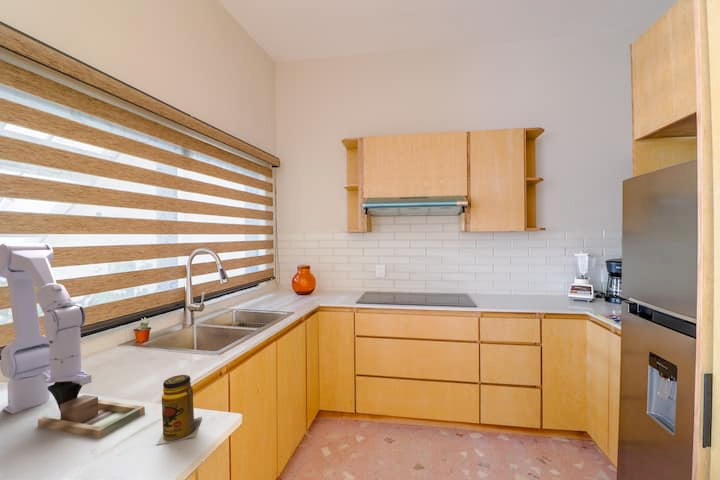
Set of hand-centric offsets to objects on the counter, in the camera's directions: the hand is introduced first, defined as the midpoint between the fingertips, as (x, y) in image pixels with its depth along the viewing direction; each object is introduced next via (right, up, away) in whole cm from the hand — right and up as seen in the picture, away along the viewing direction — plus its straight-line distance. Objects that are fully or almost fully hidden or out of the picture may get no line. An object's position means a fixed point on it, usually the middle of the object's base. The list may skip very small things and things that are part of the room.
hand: (67, 411), depth 79 cm
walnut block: (+4, -1, -1) cm, 4 cm away
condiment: (+32, -1, -7) cm, 33 cm away
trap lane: (+8, -2, -3) cm, 9 cm away
